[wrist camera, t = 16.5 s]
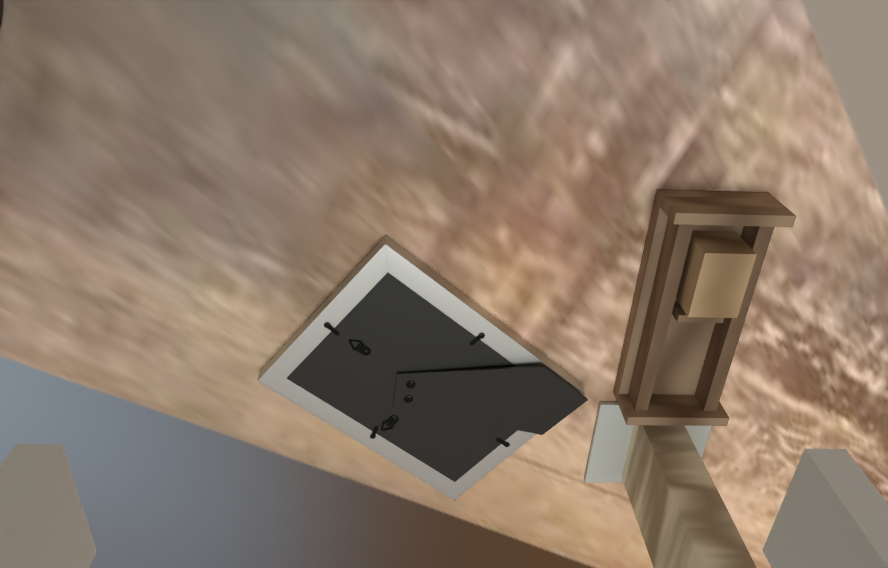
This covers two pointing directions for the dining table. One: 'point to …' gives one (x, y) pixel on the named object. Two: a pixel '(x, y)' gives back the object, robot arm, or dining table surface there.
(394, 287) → the picture frame
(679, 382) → the tray
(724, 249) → the oak offcut
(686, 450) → the tall grained pillar
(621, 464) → the rubber pad
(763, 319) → the dining table surface
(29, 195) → the dining table surface
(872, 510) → the robot arm
